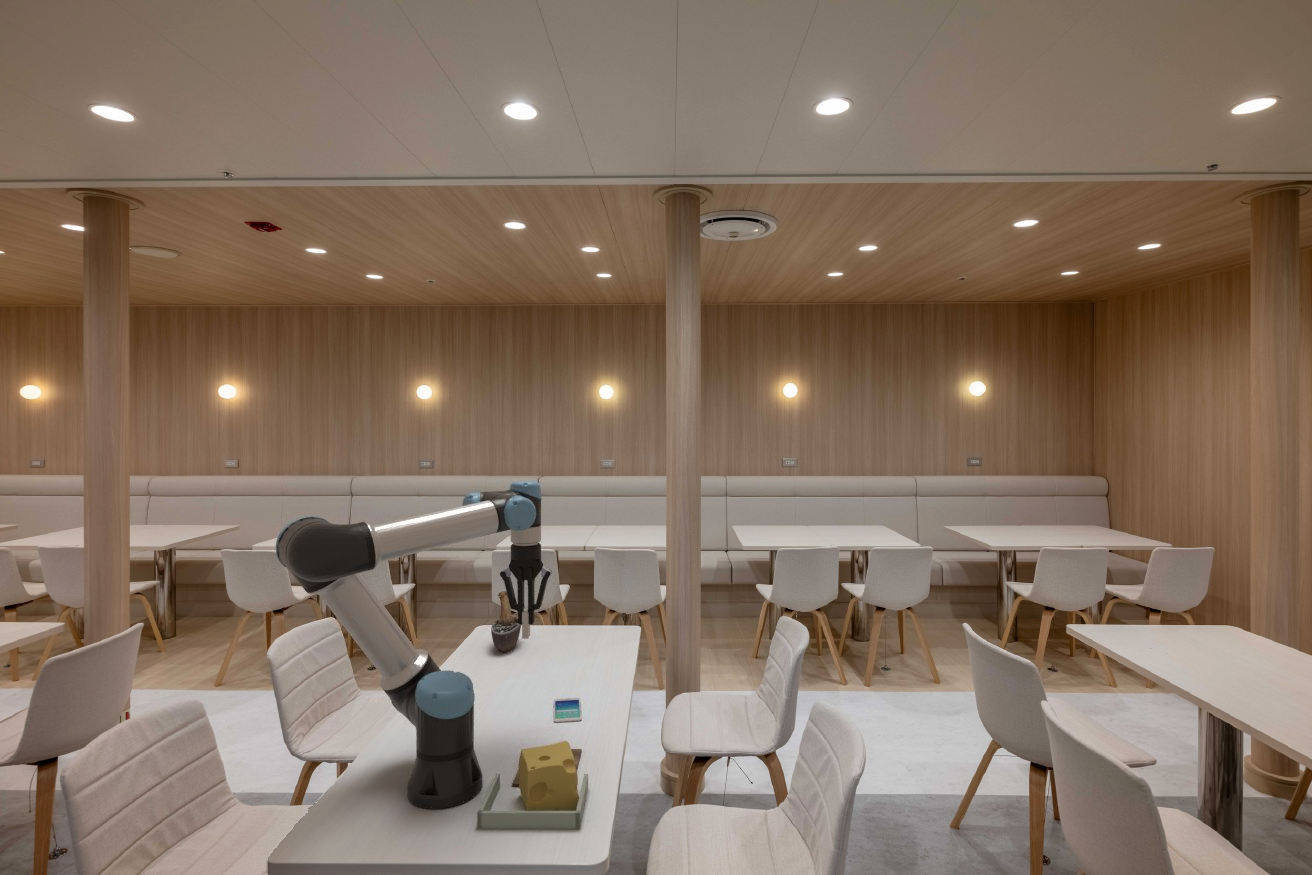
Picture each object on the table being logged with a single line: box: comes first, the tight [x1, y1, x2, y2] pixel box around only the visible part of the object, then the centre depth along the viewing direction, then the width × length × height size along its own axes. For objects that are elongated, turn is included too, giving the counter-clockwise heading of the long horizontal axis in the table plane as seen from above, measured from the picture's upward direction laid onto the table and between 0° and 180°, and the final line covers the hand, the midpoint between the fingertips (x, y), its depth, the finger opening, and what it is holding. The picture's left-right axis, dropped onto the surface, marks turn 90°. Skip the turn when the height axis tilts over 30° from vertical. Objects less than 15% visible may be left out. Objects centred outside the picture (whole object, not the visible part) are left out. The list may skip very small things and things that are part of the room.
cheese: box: [517, 740, 580, 811], centre depth 138 cm, size 10×11×10 cm
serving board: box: [511, 748, 583, 788], centre depth 152 cm, size 16×13×1 cm
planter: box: [490, 590, 522, 653], centre depth 237 cm, size 15×17×20 cm
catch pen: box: [476, 773, 589, 830], centre depth 136 cm, size 15×20×3 cm
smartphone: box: [553, 697, 583, 724], centre depth 184 cm, size 8×1×15 cm
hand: (526, 636), depth 169 cm, fingers closed
